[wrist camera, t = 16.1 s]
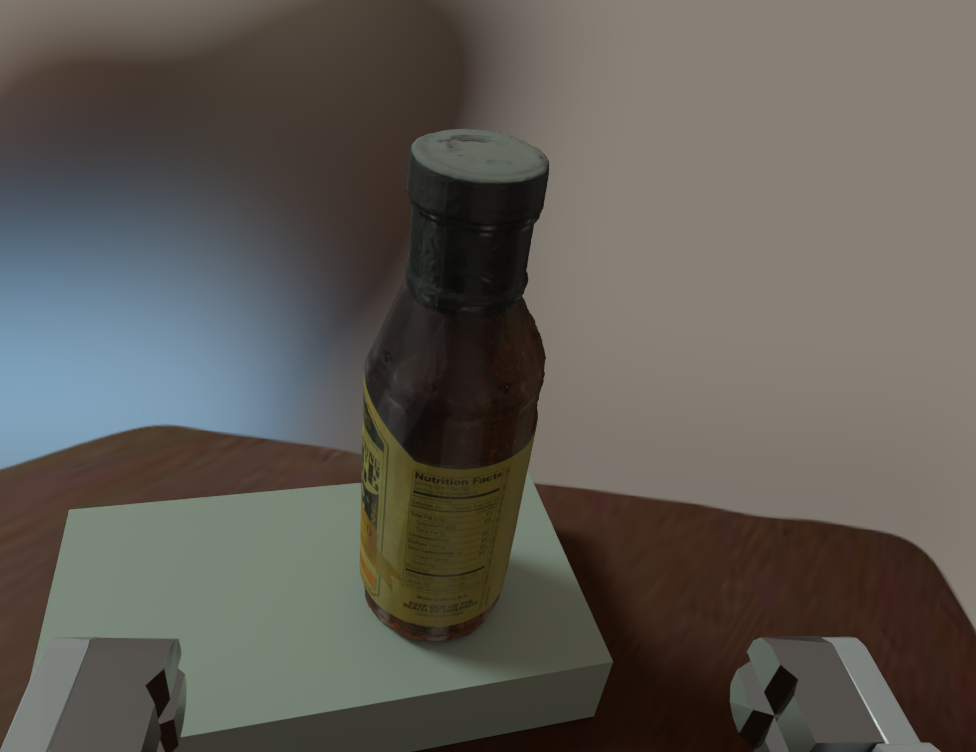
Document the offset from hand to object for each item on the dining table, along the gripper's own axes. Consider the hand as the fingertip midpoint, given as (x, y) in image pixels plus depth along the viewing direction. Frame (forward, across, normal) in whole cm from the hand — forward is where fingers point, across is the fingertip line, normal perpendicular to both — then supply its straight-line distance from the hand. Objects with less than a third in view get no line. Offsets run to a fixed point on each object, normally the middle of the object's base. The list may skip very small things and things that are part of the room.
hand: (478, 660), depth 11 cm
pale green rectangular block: (+16, +3, +22) cm, 27 cm away
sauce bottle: (+15, -1, +18) cm, 23 cm away
